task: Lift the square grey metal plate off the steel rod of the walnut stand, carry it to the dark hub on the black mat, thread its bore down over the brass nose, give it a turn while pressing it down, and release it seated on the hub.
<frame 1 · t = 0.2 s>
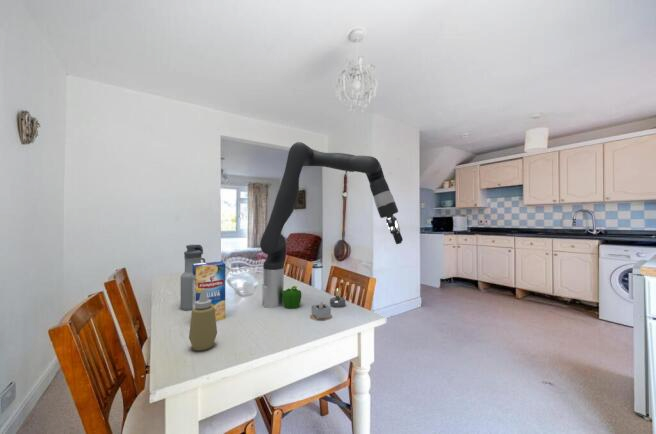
hand: (399, 242, 105), 31 cm above the table, tool tilted 20°, fingers open, 8 cm apart
bell pepper: (291, 308, 119), on the table
stand: (321, 317, 108), on the table
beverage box: (208, 319, 106), on the table
squeeze bottle: (203, 347, 84), on the table
water bottle: (193, 307, 120), on the table
hub: (337, 306, 121), on the table
plate: (321, 316, 108), resting on stand
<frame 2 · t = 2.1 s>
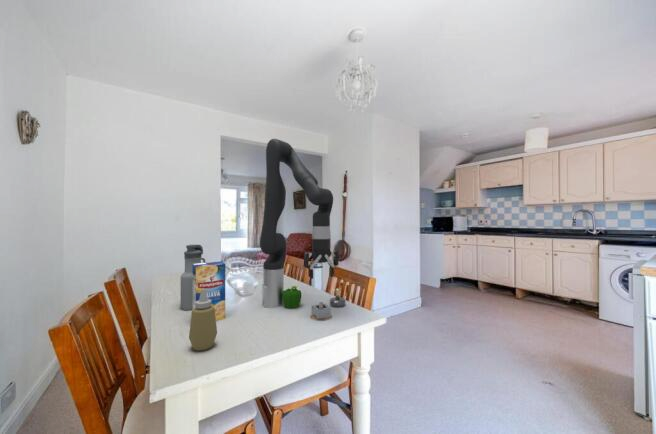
hand: (321, 277, 108), 16 cm above the table, tool pointing down, fingers open, 8 cm apart
nothing on the table moved.
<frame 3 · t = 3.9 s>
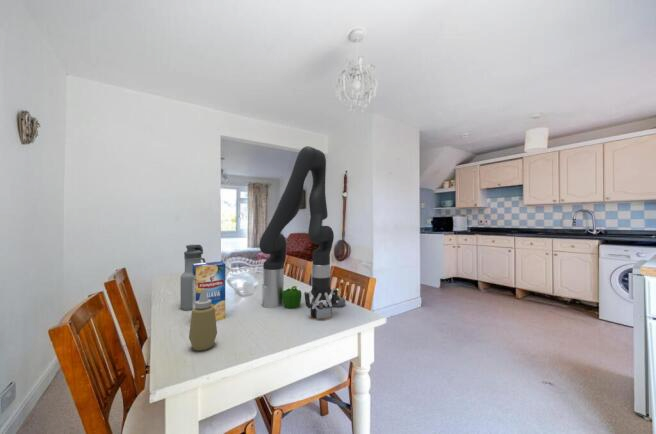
hand: (321, 316, 108), 1 cm above the table, tool pointing down, fingers closed on plate, 6 cm apart
plate: (321, 316, 108), resting on stand, touching gripper
everything else where it was.
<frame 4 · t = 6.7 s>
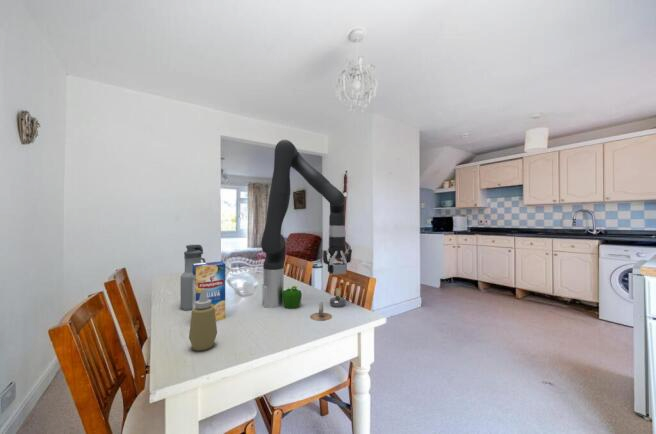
hand: (337, 272, 120), 16 cm above the table, tool pointing down, fingers closed on plate, 6 cm apart
plate: (337, 272, 120), point 16 cm above the table, touching gripper
everything else where it was.
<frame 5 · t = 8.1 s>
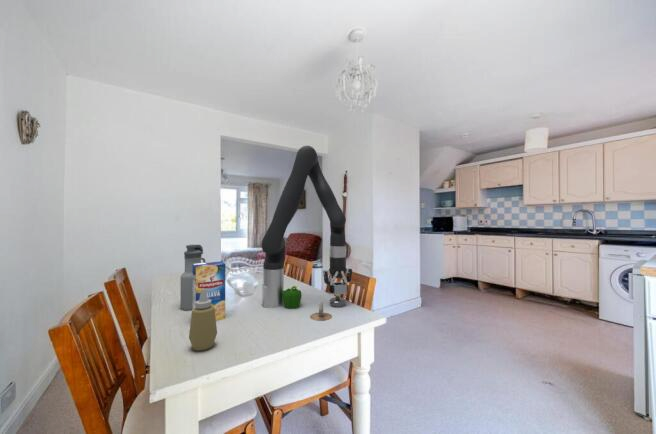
hand: (337, 292, 121), 6 cm above the table, tool pointing down, fingers closed on plate, 6 cm apart
plate: (337, 292, 121), point 6 cm above the table, touching gripper
everything else where it was.
when the fingers open (4 cm above the table, at t = 9.3 s): plate stays where it is, resting on hub.
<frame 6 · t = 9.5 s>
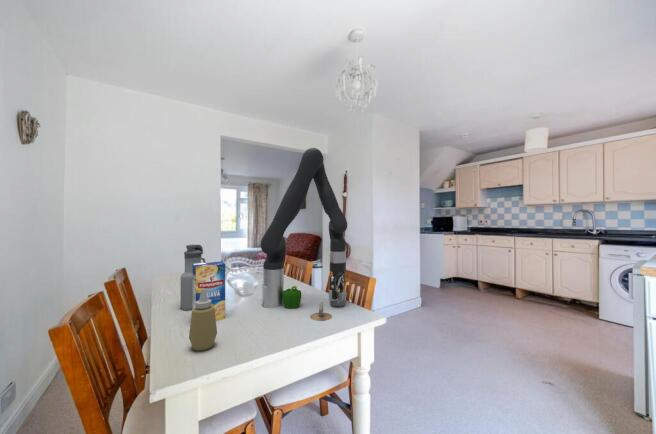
hand: (337, 296, 121), 4 cm above the table, tool pointing down, fingers open, 7 cm apart
plate: (337, 299, 122), point 3 cm above the table, touching hub
everything else where it was.
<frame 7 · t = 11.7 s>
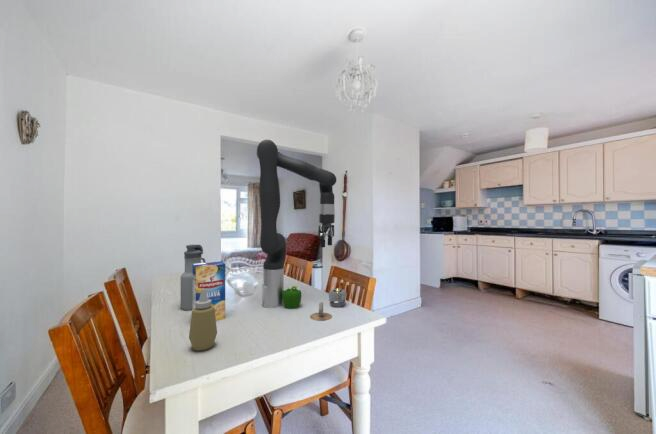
hand: (326, 246, 131), 26 cm above the table, tool pointing down, fingers open, 8 cm apart
nothing on the table moved.
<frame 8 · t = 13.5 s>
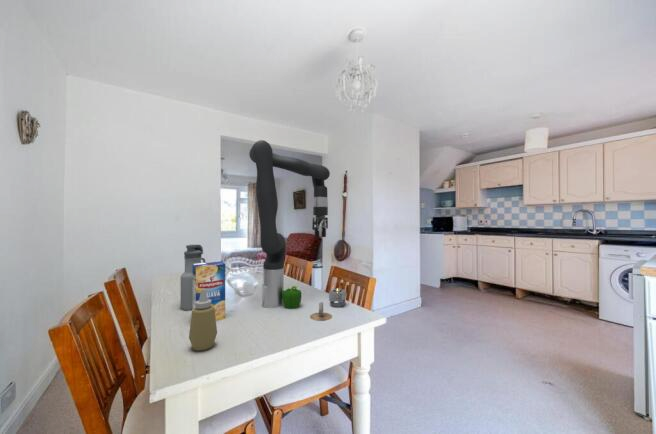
hand: (320, 237, 136), 30 cm above the table, tool pointing down, fingers open, 8 cm apart
nothing on the table moved.
at the end: plate 0.0 cm off-centre on the hub, point 3.0 cm above the hub's base; plate tilted 0°; the gripper is holding nothing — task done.
